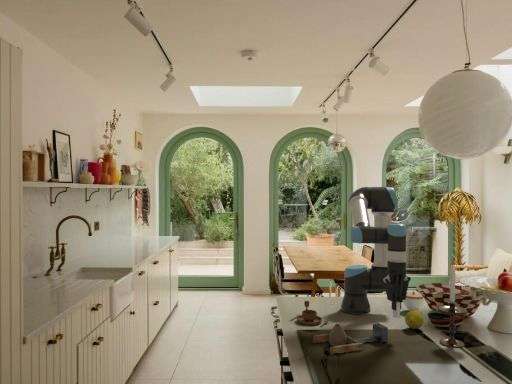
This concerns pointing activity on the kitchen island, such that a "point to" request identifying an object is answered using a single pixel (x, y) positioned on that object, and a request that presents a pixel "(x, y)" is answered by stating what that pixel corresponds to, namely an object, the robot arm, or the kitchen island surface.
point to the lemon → (414, 319)
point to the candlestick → (452, 313)
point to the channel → (338, 348)
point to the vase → (337, 336)
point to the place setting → (309, 317)
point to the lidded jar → (413, 301)
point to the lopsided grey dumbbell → (378, 335)
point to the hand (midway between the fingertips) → (396, 317)
